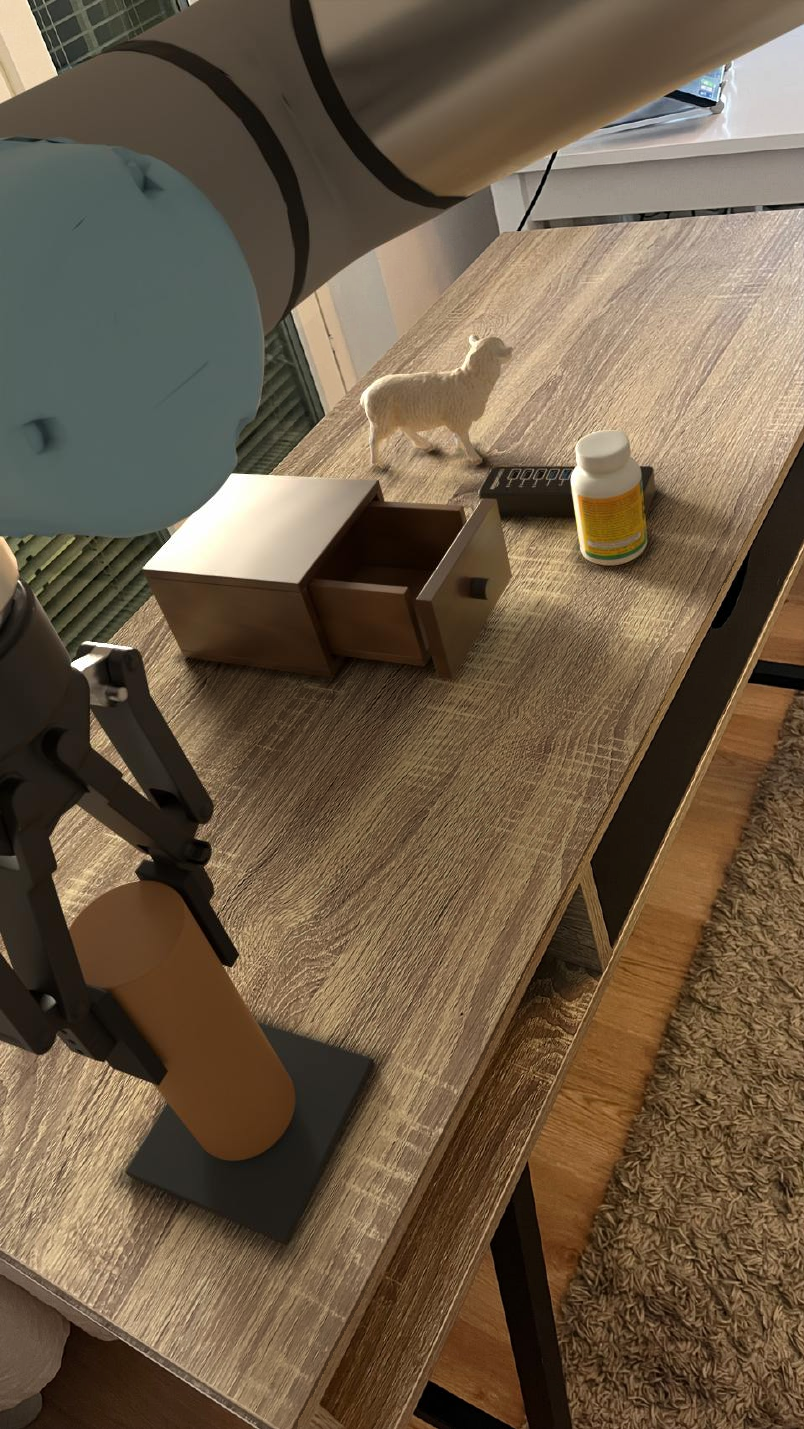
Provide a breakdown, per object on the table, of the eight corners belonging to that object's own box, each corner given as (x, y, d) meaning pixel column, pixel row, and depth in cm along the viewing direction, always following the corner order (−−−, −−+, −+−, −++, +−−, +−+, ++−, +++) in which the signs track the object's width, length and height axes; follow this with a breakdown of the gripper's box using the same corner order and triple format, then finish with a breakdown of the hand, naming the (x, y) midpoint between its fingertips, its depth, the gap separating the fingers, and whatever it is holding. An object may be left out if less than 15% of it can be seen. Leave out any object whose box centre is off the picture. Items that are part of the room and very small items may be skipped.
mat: (375, 1063, 58) (372, 1058, 58) (287, 1245, 52) (283, 1240, 52) (226, 1015, 62) (222, 1009, 62) (128, 1177, 56) (124, 1172, 56)
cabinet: (405, 571, 91) (379, 479, 85) (332, 678, 83) (298, 584, 77) (263, 559, 98) (230, 473, 92) (183, 657, 90) (141, 569, 84)
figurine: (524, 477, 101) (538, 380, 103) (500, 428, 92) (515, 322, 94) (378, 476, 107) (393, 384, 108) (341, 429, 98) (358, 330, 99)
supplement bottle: (570, 543, 88) (554, 440, 82) (629, 521, 89) (618, 416, 83) (598, 576, 84) (583, 470, 78) (660, 552, 85) (650, 445, 78)
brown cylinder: (314, 1076, 57) (210, 894, 46) (262, 1176, 54) (137, 1003, 43) (229, 1047, 59) (111, 868, 49) (174, 1141, 56) (35, 969, 46)
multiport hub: (645, 518, 89) (642, 495, 87) (481, 515, 95) (476, 493, 93) (656, 489, 91) (654, 465, 90) (496, 487, 97) (492, 465, 96)
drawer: (526, 577, 85) (511, 499, 80) (467, 682, 78) (447, 602, 73) (365, 564, 92) (343, 491, 87) (297, 659, 84) (268, 585, 79)
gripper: (14, 466, 42) (216, 843, 57) (-394, 819, 31) (-8, 1171, 46) (163, 473, 39) (336, 872, 54) (-234, 872, 27) (126, 1232, 43)
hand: (177, 1009), depth 50 cm, fingers closed on brown cylinder, 6 cm apart
